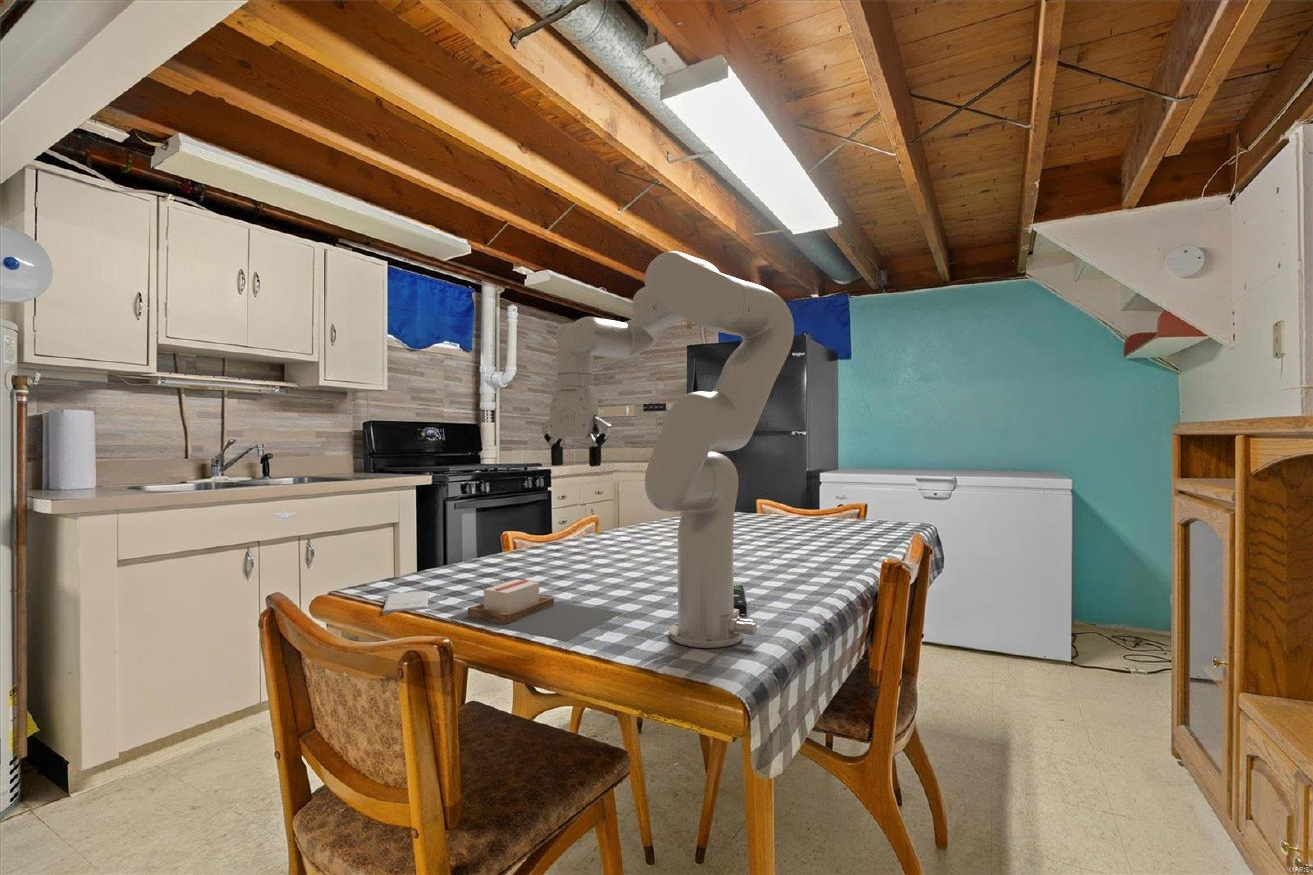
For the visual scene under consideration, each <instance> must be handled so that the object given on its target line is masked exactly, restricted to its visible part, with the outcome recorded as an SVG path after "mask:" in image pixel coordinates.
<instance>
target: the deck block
mask: <svg viewBox="0 0 1313 875" xmlns="http://www.w3.org/2000/svg"><path fill="white" fill-rule="evenodd" d="M539 596H540V582H536V581H531V580H530V581H529V580H524V579H523V580H522V579H514V580H509V581H506V582H504V583H499V584H497V585H494V586H490V587H487V588H484V589H483V603H484V609H485V610H491V611H497V612H502V613H511V612H513V611H516V610H519V609H521V608H524V607H527V606H529V605H532V604H535V603H537V602H539Z"/></svg>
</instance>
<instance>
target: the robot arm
mask: <svg viewBox="0 0 1313 875" xmlns="http://www.w3.org/2000/svg"><path fill="white" fill-rule="evenodd" d="M632 310H633V311H632V312H633V314H634V318H631V319H630V320H626V321H623V322H622V321H618V320H612V319H608V318H600V317H596V316H584V317H581V318H579V319H577V320H576V321H574V322H567V323H563V324H560V325H559V326H558V327H557V329H556V379H553V386H555V387H556V390H553V392H552V397H551V403H550V410H549V411H550V413H549V421H547V422H545V423H544V424H543V425H541V426H540V429H541V432H542V434H543V437H544V439H545V441H546V442H547V446H548V447H550V461H551V464H550V465H551V466H553V467H554V466H562V465H563V464H564V448H563V446H561V445H562V443H564V441H565V439H567V438H573V439H574V438H575V439H577V438H578V439H579V438H580V439H581V438H586V440H587V441H588V443H589V444H590V445H591V446H589V447H588V464H589V467H591V468H593V467H601V465H602V464H601V461H602V447H604V444H605V442H606V441H607V440H608V439H609V435H610V433H611V430H612V428H613V426H612V425H611V424H610V423H609V422H607V421H606V420H604V419H602V418H601V417H600V410H599V409H600V408H599V402H598V396H597V391H596V389H594V357H604V358H612V359H618V360H619V359H627V358H631V357H633V356H636V355H638V354H641V353H642V352H644V351H647V350H649V349H651V348H652V347H653V346H654V345H656V343H657V342H658V340H659V339H660V337H661V335H662V333H663V331H664V330H666V329H669V328H670V327H673V326H675V325H677V324H679V323H681V322H682V321H685V320H688V321H689V322H691V323H692V324H695V325H697V326H699V327H702V328H703V329H706V330H709V331H713V332H717V333H723V334H727V335H732V336H738V337H740V338H741V339H742V340H741V343H740V345H738V347H737V348H736V349H735V350H734V351H733V352H732V353H731V354H730V355H729V357H728V358H727V360H726V361H725V363H724V365H723V368H722V370H721V374H720V376H719V378H718V380H717V382H716V385H715V387H714V388H713V390H712V391H694V392H689V393H686V394H684V395H683V396H681V397H680V398H679V399H678V400H676V401H675V402H674V404H673V405H672V406H671V408H670V409H669V411H668V413H667V415H666V417H665V419H664V422H663V425H662V427H661V430H660V432H659V435H658V438H657V440H656V443H655V445H654V447H653V448H654V449H653V451H652V453H651V456H650V459H649V461H648V464H647V468H646V471H645V476H644V490H645V494H646V497H647V499H648V501H649V502H650V503H651V505H652V506H653V507H654V508H656V509H657V510H660V511H662V512H669V513H677V512H682V513H681V517H680V518H679V523H678V528H677V529H678V530H677V547H676V548H677V622H675V623H674V624H672V625H671V626H670V627H669V630H668V635H669V636H668V637H670V639H671V640H672V641H674V642H675V643H677V644H679V645H683V646H686V647H689V648H690V647H693V648H697V649H698V648H703V649H717V648H724V647H730V646H733V645H736V644H738V643H739V642H741V641H742V640H743V638H744V635H747V636H756V634H757V631H758V626H757V623H756V622H755V620H754V619H751V618H750V619H748V618H742V617H741V616H740V615H739V609H734V586H735V584H734V526H735V525H734V524H735V523H734V521H735V520H734V519H735V509H736V503H737V497H738V490H739V476H738V471H737V468H736V466H735V464H734V463H733V462H732V460H730V458H729V457H727V456H726V455H724V454H722V453H721V452H732V451H737V450H739V449H741V448H742V449H743V448H744V447H745V446H746V445H747V444H748V443H749V441H750V439H751V438H752V436H753V434H754V431H755V429H756V427H757V426H758V422H759V420H760V418H761V415H762V413H763V411H764V408H765V406H766V404H767V401H768V399H769V397H770V394H771V392H772V390H773V387H774V384H775V382H776V379H777V378H778V375H779V374H780V372H781V370H782V368H783V366H784V364H785V362H786V360H787V358H788V356H789V354H790V351H791V348H792V346H793V341H794V335H795V323H794V319H793V314H792V313H791V310H790V308H789V306H788V305H787V303H786V302H785V301H784V300H783V299H782V298H781V296H779V295H778V294H777V293H775V292H774V291H772V290H770V289H768V288H766V287H764V286H762V285H759V284H756V283H754V282H750V281H745V280H742V279H739V278H736V277H734V276H731V275H727V274H724V273H722V272H720V271H719V270H718V268H717V267H716V266H714V265H713V264H712V263H710V262H708V261H706V260H704V259H700V258H697V257H696V256H695V257H694V256H692V255H689V254H686V253H683V252H679V251H673V250H672V251H665V252H662V253H660V254H659V255H657V256H656V257H654V259H653V260H651V262H650V263H649V264H648V266H647V269H646V271H645V274H644V287H641V288H640V289H639V290H637V291H636V293H635V294H634V296H633V299H632ZM600 429H601V432H600Z"/></svg>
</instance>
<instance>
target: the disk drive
mask: <svg viewBox="0 0 1313 875" xmlns="http://www.w3.org/2000/svg"><path fill="white" fill-rule="evenodd" d="M747 606H748V605H747V599H746V595H745V589H744V586H743V585H734V609H739V616H742V615H741V614H747V615H748V612H747V611H748V608H747Z"/></svg>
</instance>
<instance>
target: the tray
mask: <svg viewBox="0 0 1313 875" xmlns="http://www.w3.org/2000/svg"><path fill="white" fill-rule="evenodd" d="M554 602H555V598H554V597H550V596H543V595H539V602H537V603H535V604H532V605H529V606H527V607H524V608H521V609H519V610H516V611H513V612H511V613H502V612H497V611H491V610H485V609H484V602H482V603H479V604H475V605H473V606H470V607H468V608H467V611H468V617H473V618H479V619H484V620H489V621H495V622H500V623H505V624H510V623H512V622H515V621H517V620H520V619H522V618H525V617H527V616H530V615H533V614H535V613H538V612H540V611H543V610H545V609H548V608H550V607H553V606H554Z"/></svg>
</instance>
